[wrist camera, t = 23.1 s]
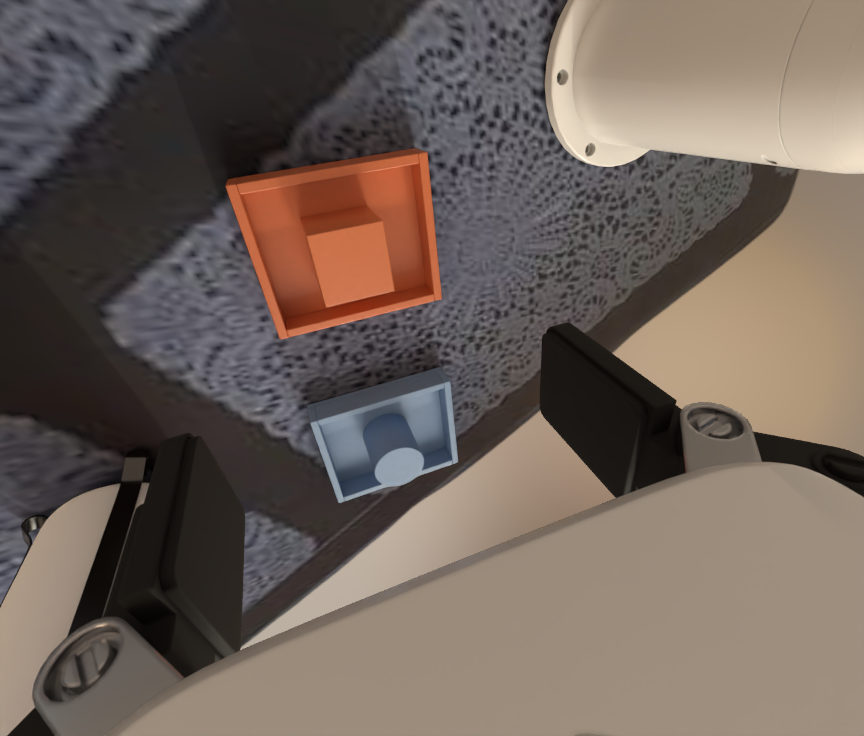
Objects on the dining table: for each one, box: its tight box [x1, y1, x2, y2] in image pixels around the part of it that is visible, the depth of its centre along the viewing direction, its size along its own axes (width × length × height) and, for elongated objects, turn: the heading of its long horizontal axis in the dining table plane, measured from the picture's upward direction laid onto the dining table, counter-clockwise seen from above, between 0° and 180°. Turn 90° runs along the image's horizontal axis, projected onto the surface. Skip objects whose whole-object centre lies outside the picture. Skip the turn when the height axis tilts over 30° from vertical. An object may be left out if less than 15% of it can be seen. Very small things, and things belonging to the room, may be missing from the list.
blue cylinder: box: [363, 414, 424, 486], centre depth 38 cm, size 4×4×5 cm
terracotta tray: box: [226, 148, 442, 339], centre depth 29 cm, size 12×10×2 cm
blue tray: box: [307, 367, 458, 503], centre depth 39 cm, size 12×10×2 cm
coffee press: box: [0, 452, 149, 736], centre depth 24 cm, size 17×16×30 cm
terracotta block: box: [300, 205, 395, 307], centre depth 28 cm, size 5×5×5 cm
